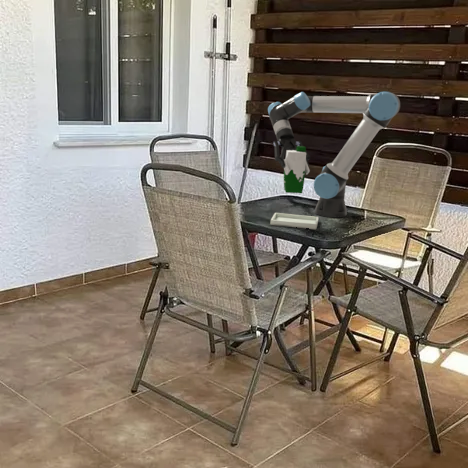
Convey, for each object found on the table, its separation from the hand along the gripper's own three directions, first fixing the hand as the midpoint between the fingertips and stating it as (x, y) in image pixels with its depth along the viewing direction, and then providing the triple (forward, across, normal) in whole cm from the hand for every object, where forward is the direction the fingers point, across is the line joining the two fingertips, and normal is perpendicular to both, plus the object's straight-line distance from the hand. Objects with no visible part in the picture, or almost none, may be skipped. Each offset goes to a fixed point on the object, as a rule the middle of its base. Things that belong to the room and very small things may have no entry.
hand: (297, 172), depth 266 cm
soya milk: (+4, 0, -9) cm, 10 cm away
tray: (+16, -1, -16) cm, 23 cm away
